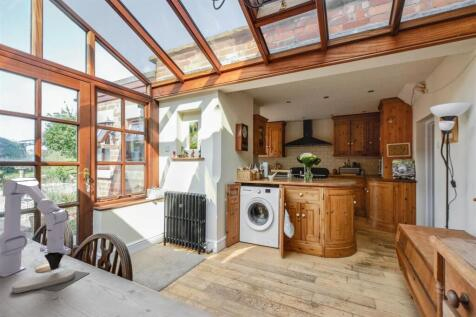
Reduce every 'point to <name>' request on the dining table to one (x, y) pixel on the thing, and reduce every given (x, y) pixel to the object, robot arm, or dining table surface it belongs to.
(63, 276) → the beige flat oblong piece
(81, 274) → the mat
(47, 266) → the coaster
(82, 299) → the dining table surface
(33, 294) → the dining table surface
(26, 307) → the dining table surface
